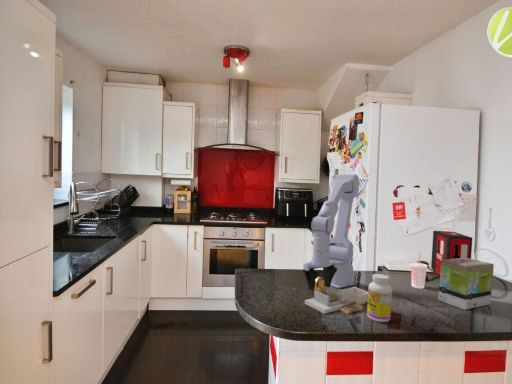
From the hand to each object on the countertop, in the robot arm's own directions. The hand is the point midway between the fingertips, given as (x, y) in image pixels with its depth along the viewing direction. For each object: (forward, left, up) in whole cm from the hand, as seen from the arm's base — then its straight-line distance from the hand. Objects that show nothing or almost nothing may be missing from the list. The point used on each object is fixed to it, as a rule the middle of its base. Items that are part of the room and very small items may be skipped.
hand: (319, 288), depth 113 cm
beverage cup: (-44, +11, -3) cm, 46 cm away
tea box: (-42, +29, -3) cm, 51 cm away
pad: (+4, +8, -1) cm, 9 cm away
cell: (0, 0, -3) cm, 3 cm away
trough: (0, +14, -3) cm, 15 cm away
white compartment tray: (+4, +8, -3) cm, 9 cm away
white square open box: (-8, +9, -3) cm, 13 cm away
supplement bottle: (-2, +23, -3) cm, 23 cm away
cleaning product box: (-69, +11, -3) cm, 70 cm away
